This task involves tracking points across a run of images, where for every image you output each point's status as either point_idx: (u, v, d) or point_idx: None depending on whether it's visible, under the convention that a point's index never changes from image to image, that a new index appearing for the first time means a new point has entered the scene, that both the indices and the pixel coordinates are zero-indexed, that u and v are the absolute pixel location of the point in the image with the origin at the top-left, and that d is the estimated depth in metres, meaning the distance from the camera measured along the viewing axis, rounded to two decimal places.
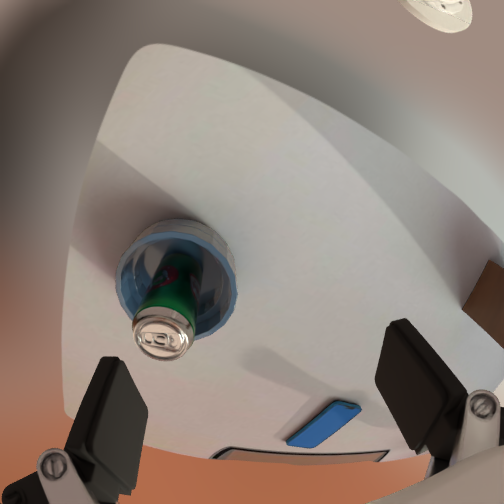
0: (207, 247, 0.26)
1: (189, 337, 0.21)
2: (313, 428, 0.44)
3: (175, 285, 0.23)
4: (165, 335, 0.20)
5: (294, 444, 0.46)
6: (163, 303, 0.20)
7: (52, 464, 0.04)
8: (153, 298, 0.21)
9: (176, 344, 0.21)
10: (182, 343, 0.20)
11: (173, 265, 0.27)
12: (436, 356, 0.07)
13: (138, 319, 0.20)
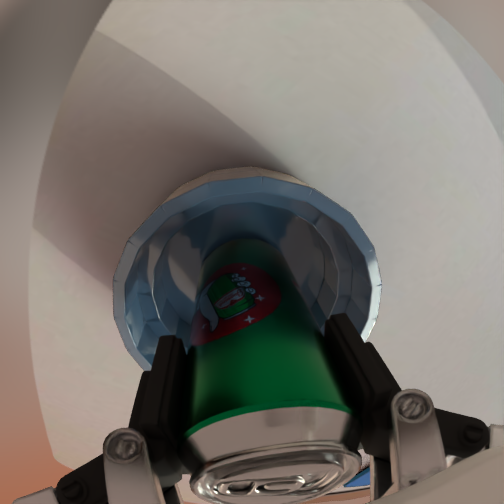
0: (342, 220, 0.11)
1: None
2: None
3: (289, 316, 0.09)
4: (296, 475, 0.05)
5: (352, 485, 0.31)
6: (297, 393, 0.06)
7: (121, 445, 0.05)
8: (247, 370, 0.06)
9: (316, 480, 0.06)
10: None
11: (252, 263, 0.12)
12: (366, 351, 0.08)
13: (207, 447, 0.05)
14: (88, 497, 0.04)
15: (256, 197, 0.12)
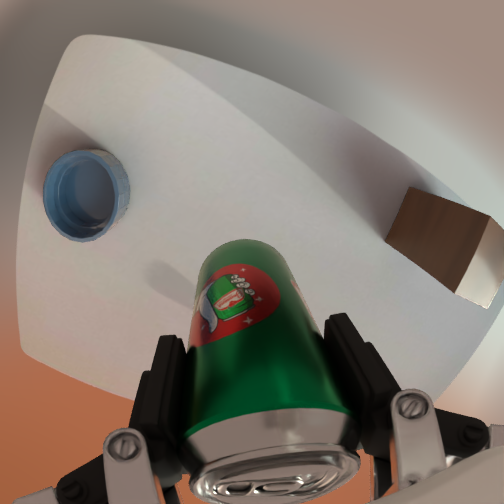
0: (97, 159, 0.30)
1: None
2: None
3: (288, 317, 0.09)
4: (295, 476, 0.05)
5: None
6: (295, 395, 0.06)
7: (121, 445, 0.05)
8: (246, 372, 0.06)
9: (315, 481, 0.06)
10: None
11: (252, 265, 0.12)
12: (366, 351, 0.08)
13: (206, 448, 0.05)
14: (88, 497, 0.04)
15: (84, 158, 0.32)
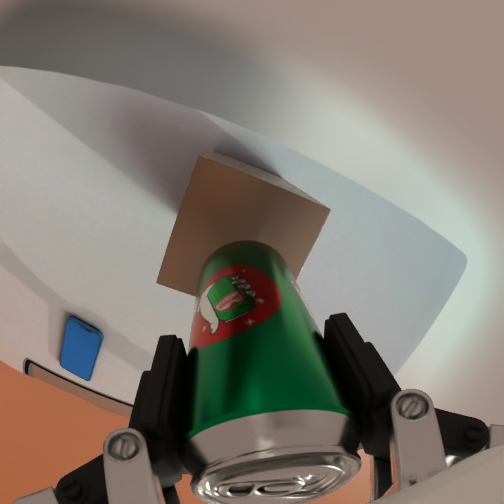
0: None
1: None
2: (68, 348, 0.43)
3: (289, 319, 0.09)
4: (296, 477, 0.05)
5: (67, 368, 0.45)
6: (297, 396, 0.06)
7: (121, 445, 0.05)
8: (247, 373, 0.06)
9: (316, 481, 0.06)
10: None
11: (252, 265, 0.12)
12: (366, 351, 0.08)
13: (207, 450, 0.05)
14: (88, 497, 0.04)
15: None
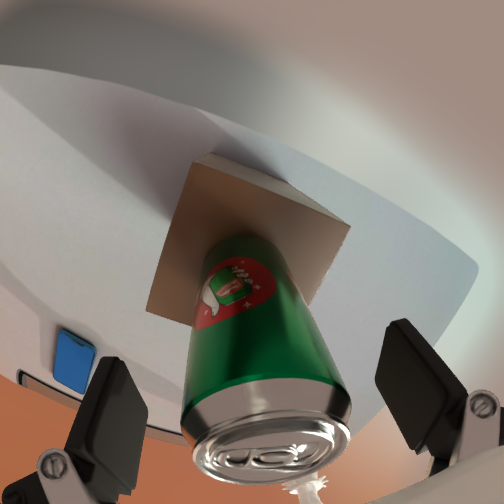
0: None
1: None
2: (61, 361, 0.40)
3: (283, 302, 0.10)
4: (289, 446, 0.06)
5: (60, 381, 0.42)
6: (288, 366, 0.07)
7: (52, 464, 0.04)
8: (245, 347, 0.07)
9: (309, 455, 0.07)
10: (328, 452, 0.07)
11: (251, 257, 0.13)
12: (436, 356, 0.07)
13: (208, 416, 0.06)
14: (27, 502, 0.03)
15: None
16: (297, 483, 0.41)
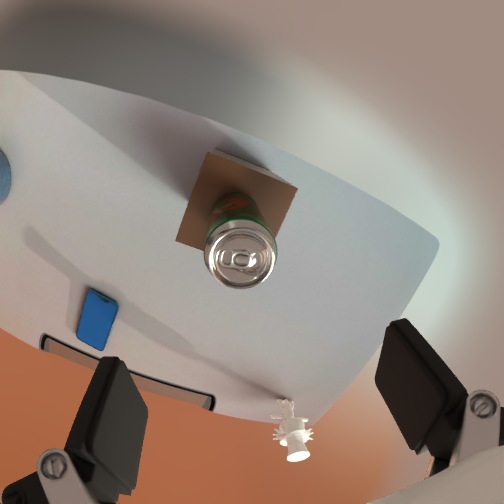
0: None
1: (273, 257, 0.19)
2: (86, 319, 0.52)
3: (249, 208, 0.22)
4: (247, 252, 0.19)
5: (82, 339, 0.54)
6: (246, 217, 0.19)
7: (52, 464, 0.04)
8: (231, 215, 0.20)
9: (258, 266, 0.19)
10: (266, 263, 0.19)
11: (237, 197, 0.25)
12: (436, 356, 0.07)
13: (216, 235, 0.19)
14: (27, 501, 0.03)
15: None
16: (286, 432, 0.54)
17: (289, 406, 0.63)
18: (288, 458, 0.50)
